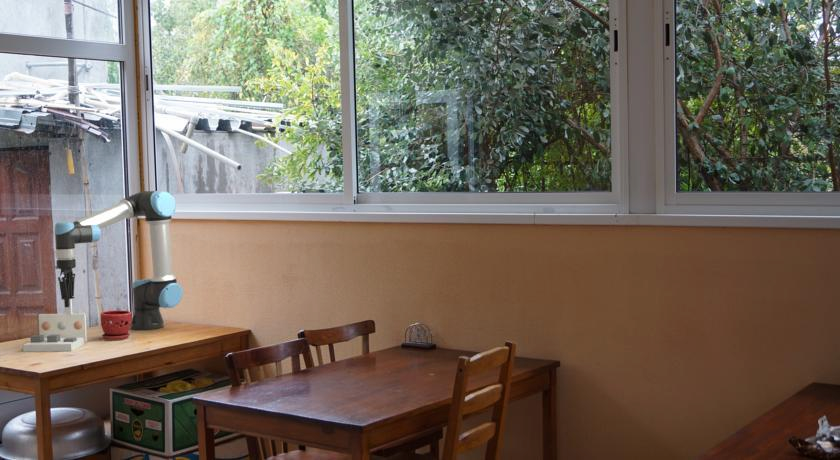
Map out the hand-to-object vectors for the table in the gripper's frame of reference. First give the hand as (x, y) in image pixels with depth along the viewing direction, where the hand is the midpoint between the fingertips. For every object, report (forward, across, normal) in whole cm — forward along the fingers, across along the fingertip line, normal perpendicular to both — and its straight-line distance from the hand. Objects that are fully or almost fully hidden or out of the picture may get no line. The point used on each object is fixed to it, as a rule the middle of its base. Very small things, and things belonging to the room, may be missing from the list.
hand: (68, 314), depth 394 cm
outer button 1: (+13, 0, 0) cm, 13 cm away
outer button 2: (+12, 0, -14) cm, 18 cm away
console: (+14, 0, -7) cm, 16 cm away
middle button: (+12, 0, -7) cm, 14 cm away
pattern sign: (+14, -10, -7) cm, 19 cm away
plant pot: (+15, -20, +13) cm, 28 cm away
